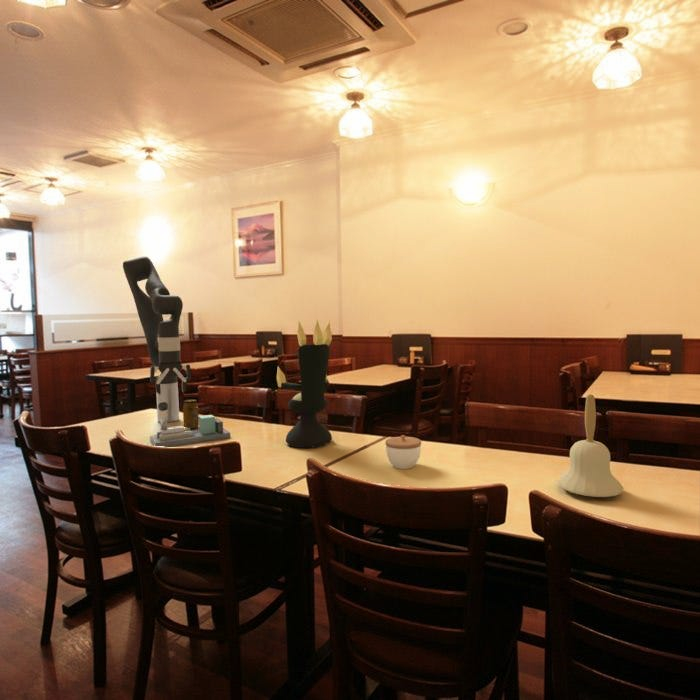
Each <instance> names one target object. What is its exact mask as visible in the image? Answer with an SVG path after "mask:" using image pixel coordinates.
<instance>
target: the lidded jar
mask: <svg viewBox="0 0 700 700" xmlns="http://www.w3.org/2000/svg"><path fill="white" fill-rule="evenodd" d="M421 445H422V441H421V439H420V438H417V437H413V436H406V435H404V434H402V435H400V436H394V437H393V436H392V437H390V438H389V437H388V438H387V439H386V440H385V448H386V449H385V452H386V456H387V458H388V460H389V462H390V463H391V464H392V465H393V467H394V468H397V469H402V470H406V469H408V470H409V469H411V468H414V466H415V465H416V464H417V463H418V461H419V460H420V457H421V450H422V447H421Z"/></svg>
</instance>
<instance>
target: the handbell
mask: <svg viewBox="0 0 700 700" xmlns="http://www.w3.org/2000/svg"><path fill="white" fill-rule="evenodd" d="M596 412H597V410H596V398H595V396H594V395H593V394H592V393H590V394H587V395H586V398H585V406H584V428H585V434H586V439H583V440H582V439H581V440H578V441H576V442H574V444H573V445H572V446H571V447H570V450H569V466H568V469H567V470H566V471H565V472H563V473H562V474H561V475H560V476H558V478H557V479H556V483H557V485H558V486H559V487H560V488H561V489H562V490H564V491H567V492H570V493H573V494H577V495H580V496H585V497H586V496H587V497H594V498H609V497H616V496H619V495H620V494H622V493H623V491H624V489H625V487H624V486H623V485H622V484H621V482H620V481H619V480H618V479H617V478H616V477H615V476H614V475H613V473H612V472H611V452H610V451H609V448H608V447H607V446H606V445H605V444H603V442H600V441H596V440H595V439H594V437H595V431H596V420H597V417H596V416H597V414H596Z"/></svg>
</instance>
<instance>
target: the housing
mask: <svg viewBox="0 0 700 700" xmlns="http://www.w3.org/2000/svg"><path fill="white" fill-rule="evenodd" d="M215 419H216V416H214V415H213V414H208V415H207V414H206V415H199V432H201V433H202V434H206V433H214V432H216V431H215Z"/></svg>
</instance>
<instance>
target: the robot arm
mask: <svg viewBox="0 0 700 700" xmlns="http://www.w3.org/2000/svg"><path fill="white" fill-rule="evenodd" d="M122 269H123V273H124V275H125V278H126V280H127V281H126V282H127V284H128V285H129V289H130V292H131V294H132V297H133V299H134V300H133V301H134V303H135V307H136V311H137V316H138V318H139V321H140V324H141V326H142V327H141V328H142V330H143V333H144V337H145V340H146V345H147V346H146V347H147V349H148V354H149V361H150V363H151V366H150V368H149V369H150V372H149V376H150V377H149V382H150V383H152V384H155V392H156V393H155V394H156V414H157V422H158V423H160V410H159V409H158V404H159V403H160V402H163V401H164V402H166V403H167V404H168V409H167V423H171V422H173V423H174V422H176V421H180V408H179V407H180V406H179V405H180V404H179V403H180V402H179V388H178V385H179V384H178V378H179V379H180V380H181V391H182V393H186V391H187V382H189V381H191V380H192V372H191V365H190V364H188V363H186V364H182V360H181V359H182V358H181V356H182V355H181V342H180V341H181V340H180V331H179V328H180V327H179V325H180V320H181V315H182V312H183V307H184V306H183V305H184V303H183V301H182V298H181V297H180V296H179V295H171V293H170V291H169V289H168V288H167V287H166V286H165V284H164V283H163V281H162V279H161V278H160V276H159V273H158V271H157V269H156V267H155V266H154V263H153V262H152V260H151V259H150V258H149V257H148V256H145V255H144V256H139V257H133V258H130V259H127V260H126V259H125V260H124V261H123V262H122ZM145 280H146V282H145V286H144V287H145V292H146V293H145V292H144V291H143V290H142V288H141V287H140V286H139V284H138V282H141V281H145ZM163 315H169V316H170V317H169V319H168V320H167V319H166V320H164V317H163ZM182 370H184V371H186V372H185V373H186V377H184V375H183V374H182V373H181V371H182ZM157 371H159V372H160V374H159V375H158V376H156V377H155V374H156V373H157Z"/></svg>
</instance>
